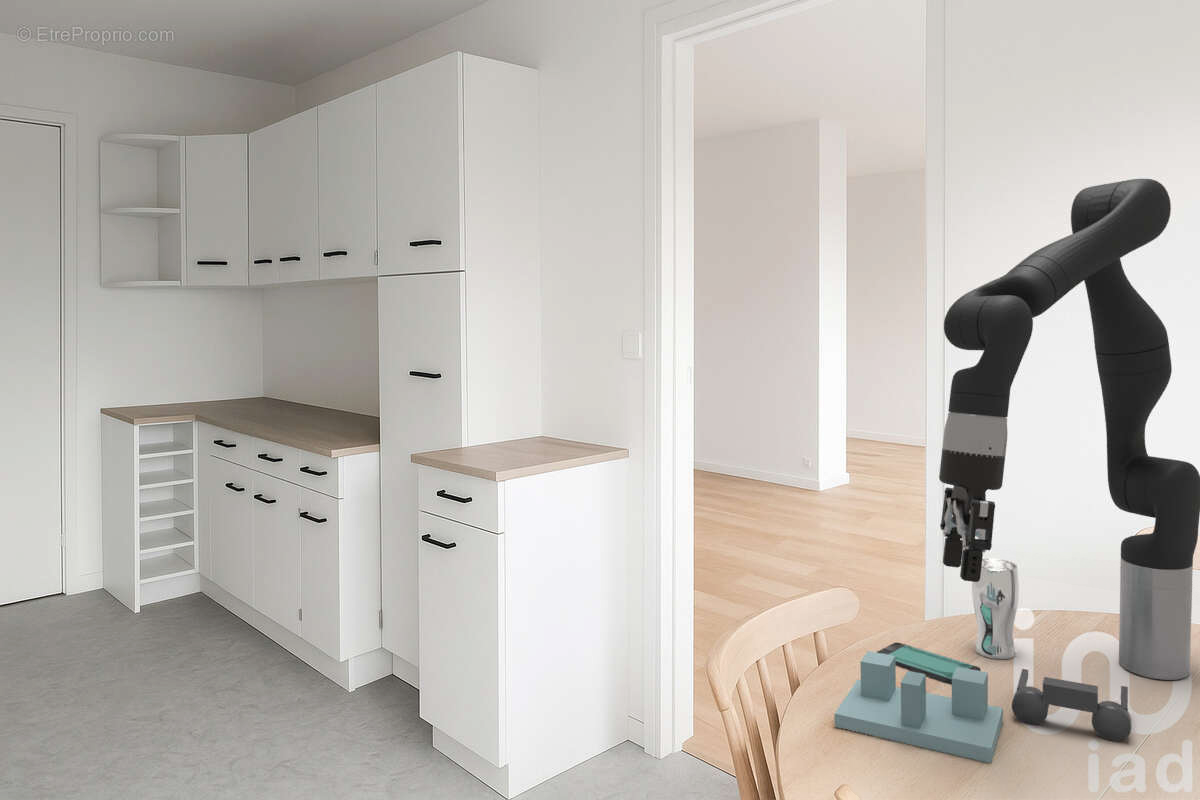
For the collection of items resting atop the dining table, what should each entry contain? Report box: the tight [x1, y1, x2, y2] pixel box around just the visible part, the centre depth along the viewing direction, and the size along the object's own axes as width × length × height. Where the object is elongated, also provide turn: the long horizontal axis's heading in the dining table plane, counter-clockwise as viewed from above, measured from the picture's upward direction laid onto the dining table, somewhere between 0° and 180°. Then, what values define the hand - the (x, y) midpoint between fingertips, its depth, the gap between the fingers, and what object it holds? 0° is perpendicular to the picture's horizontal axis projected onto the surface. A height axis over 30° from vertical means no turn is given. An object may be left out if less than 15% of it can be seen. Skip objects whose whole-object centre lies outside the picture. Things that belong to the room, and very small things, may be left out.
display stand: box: [833, 650, 1004, 764], centre depth 115 cm, size 12×20×8 cm, turn 57°
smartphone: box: [876, 642, 981, 686], centre depth 134 cm, size 7×1×15 cm
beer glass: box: [971, 558, 1020, 660], centre depth 136 cm, size 7×7×15 cm
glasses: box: [1011, 668, 1132, 742], centre depth 115 cm, size 9×14×6 cm
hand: (960, 573), depth 107 cm, fingers open, 8 cm apart
